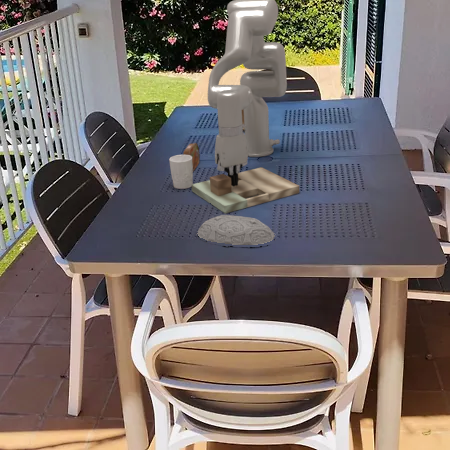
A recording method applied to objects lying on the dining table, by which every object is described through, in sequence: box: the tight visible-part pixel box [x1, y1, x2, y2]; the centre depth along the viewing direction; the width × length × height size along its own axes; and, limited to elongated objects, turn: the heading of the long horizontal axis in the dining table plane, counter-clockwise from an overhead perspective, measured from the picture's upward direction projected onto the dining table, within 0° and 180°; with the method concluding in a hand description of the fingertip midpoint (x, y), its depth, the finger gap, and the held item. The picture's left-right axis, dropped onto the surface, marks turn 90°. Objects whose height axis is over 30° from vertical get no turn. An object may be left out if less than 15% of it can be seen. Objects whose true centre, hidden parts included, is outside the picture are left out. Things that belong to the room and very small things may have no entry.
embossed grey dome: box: [196, 214, 276, 245], centre depth 170 cm, size 16×25×7 cm, turn 69°
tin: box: [182, 142, 201, 172], centre depth 224 cm, size 15×3×8 cm, turn 168°
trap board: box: [191, 167, 300, 214], centre depth 200 cm, size 28×23×2 cm
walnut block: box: [209, 173, 232, 196], centre depth 194 cm, size 5×5×5 cm
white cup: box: [168, 154, 194, 190], centre depth 207 cm, size 8×8×10 cm
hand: (233, 184), depth 197 cm, fingers closed
